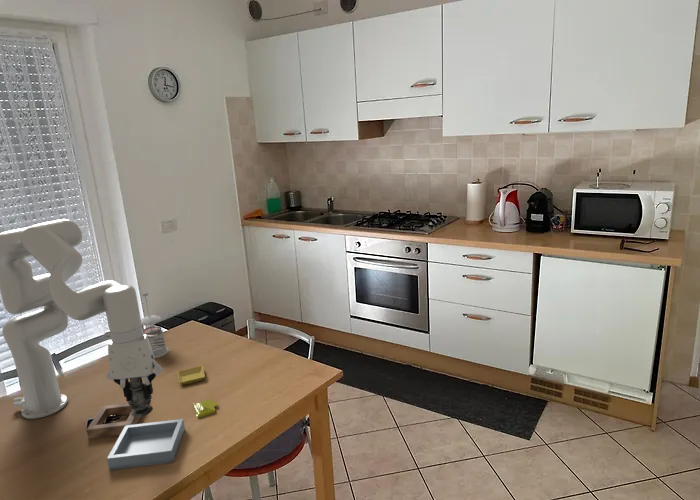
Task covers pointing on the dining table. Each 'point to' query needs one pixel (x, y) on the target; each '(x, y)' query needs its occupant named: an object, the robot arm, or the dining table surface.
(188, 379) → the yellow shallow rimmed piece
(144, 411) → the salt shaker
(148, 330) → the french press
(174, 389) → the dining table surface
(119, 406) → the hollow square frame
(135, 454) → the tray
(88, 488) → the dining table surface
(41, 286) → the robot arm
